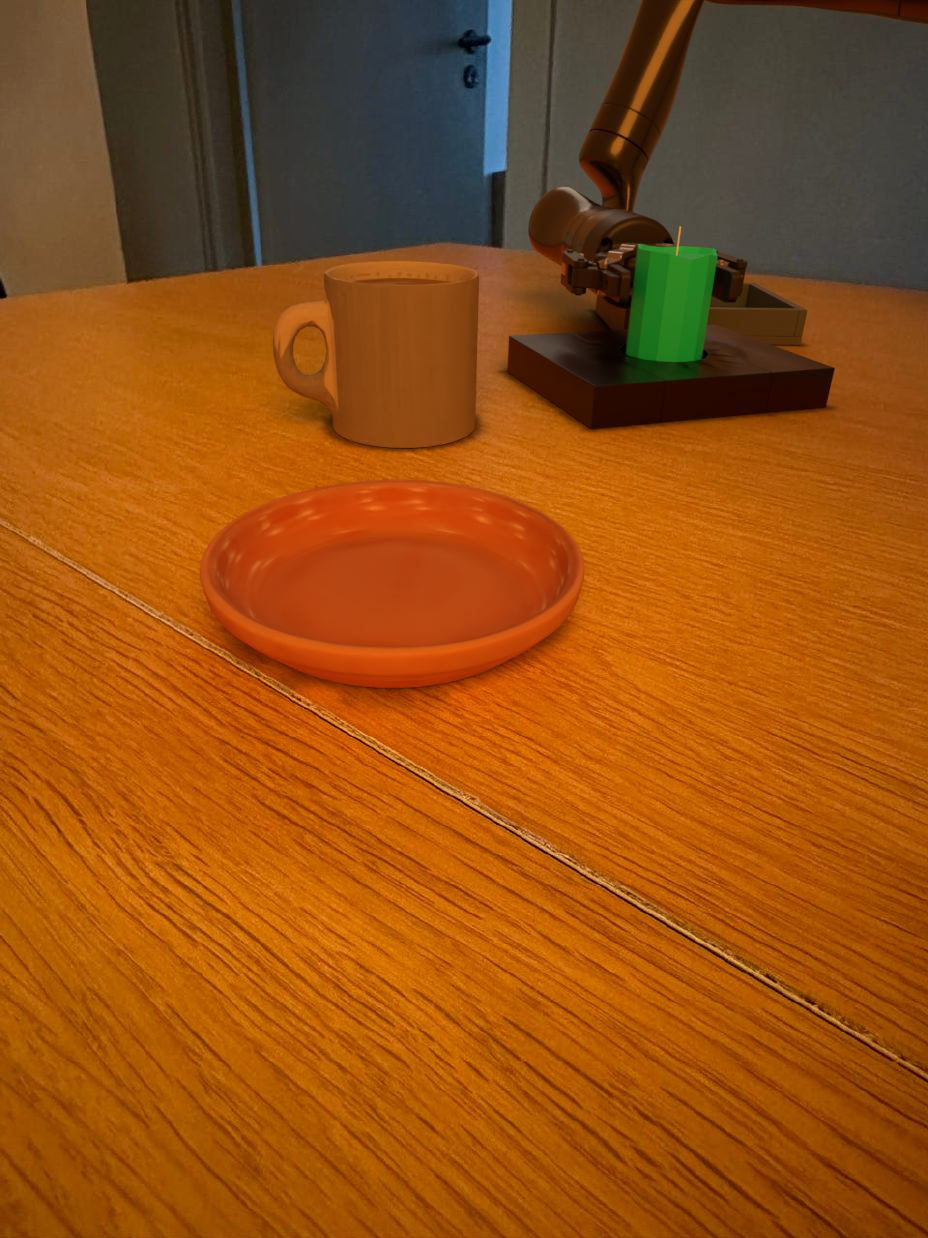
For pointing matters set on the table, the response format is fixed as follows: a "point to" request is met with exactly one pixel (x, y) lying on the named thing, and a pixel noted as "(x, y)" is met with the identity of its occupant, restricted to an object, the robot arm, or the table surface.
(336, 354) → the coffee mug
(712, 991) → the table surface
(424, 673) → the saucer
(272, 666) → the table surface
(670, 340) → the candle
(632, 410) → the dark brown flat block
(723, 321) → the brown open tray
